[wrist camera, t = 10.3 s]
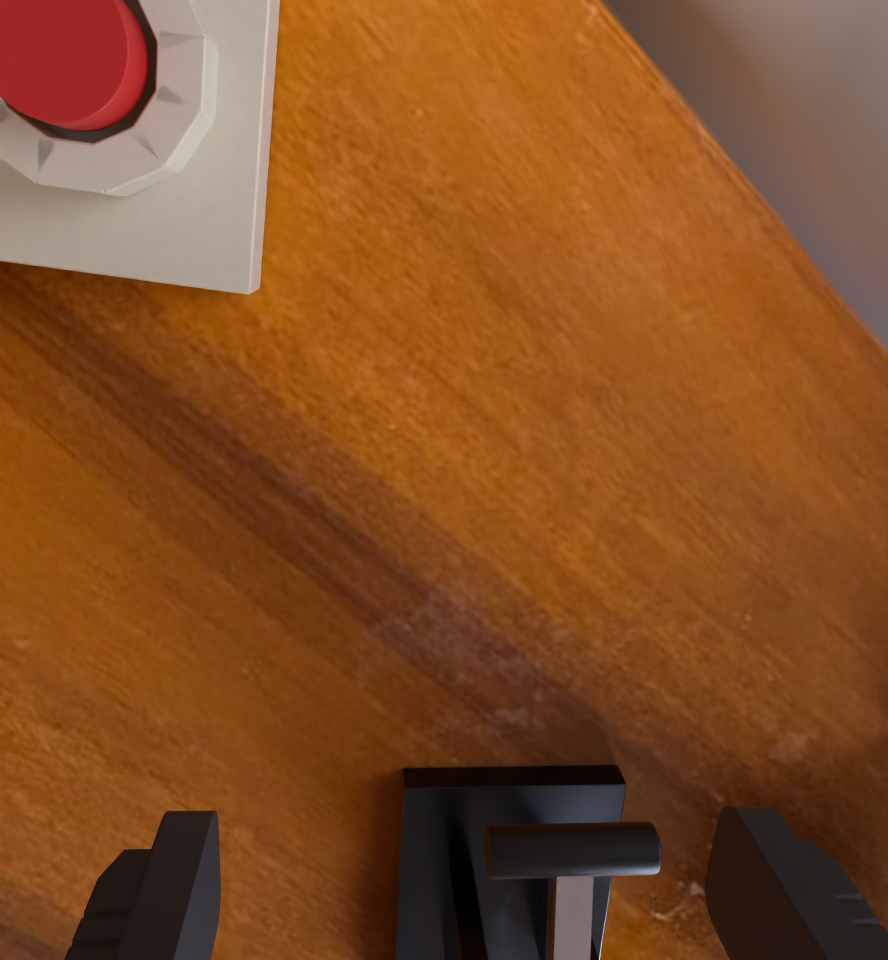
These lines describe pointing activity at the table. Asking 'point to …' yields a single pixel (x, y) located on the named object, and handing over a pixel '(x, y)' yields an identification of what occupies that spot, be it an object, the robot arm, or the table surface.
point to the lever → (571, 869)
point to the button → (72, 61)
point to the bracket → (461, 858)
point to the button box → (157, 160)
